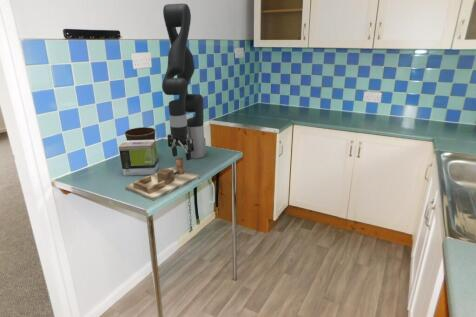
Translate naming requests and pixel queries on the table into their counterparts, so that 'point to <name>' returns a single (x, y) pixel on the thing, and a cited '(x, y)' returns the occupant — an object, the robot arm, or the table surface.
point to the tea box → (139, 157)
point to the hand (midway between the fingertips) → (181, 157)
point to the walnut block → (171, 172)
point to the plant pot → (140, 134)
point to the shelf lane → (160, 184)
